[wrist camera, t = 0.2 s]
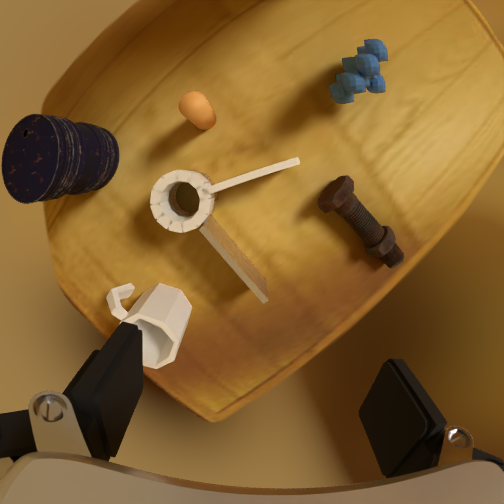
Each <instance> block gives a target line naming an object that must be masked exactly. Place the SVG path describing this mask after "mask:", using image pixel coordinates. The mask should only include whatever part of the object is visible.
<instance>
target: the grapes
mask: <svg viewBox="0 0 504 504" xmlns="http://www.w3.org/2000/svg"><path fill="white" fill-rule="evenodd" d="M364 43H365V46H362V47H357V52H358V55H355V57H347V58H342V63H343V69H344V73H340V74H336V81H337V83H333V84H329V85H330V93H331V97H332V98H333V99H334V100H335V101H336V102H337V103H340V104H346V103H351V102H354V94H357V93H363V92H366V88H367V90H368V91H369V92H371V93H383V92H386V89H385V81H384V78H383V77H382V76H381V75H380V64H379V62H380V61H388V53H387V49H386V47H385V44H383V42H382V41H380V40H378V39H368V40H364Z"/></svg>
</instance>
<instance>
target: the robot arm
mask: <svg viewBox="0 0 504 504" xmlns="http://www.w3.org/2000/svg"><path fill="white" fill-rule="evenodd" d="M142 390H143V334H142V330H140V329H138V326H137V325H136V324H131V323H128V322H124V321H123V322H121V323H120V325H119V326H118V327H117V329H116V330H115V331H114V333H113V334H112V335H111V337H110V338H109V339H108V341H107V342H106V343H105V345H104V346H103V347H102V349H101V350H94V351H93V352H92V354H91V355H90V356H89V358H88V359H87V360H86V362H85V363H84V365H83V366H82V367H81V368H80V370H79V371H78V372H77V374H76V375H75V377H74V378H73V379H72V381H71V382H70V383H69V385H68V386H67V388H66V389H65V390H64V392H63V393H62V394H61V393H59V392H55V391H43V392H40V393H38V394H36V395H35V396H34V397H33V398H32V399H31V400H30V403H29V409H28V410H22V411H15V412H9V413H2V414H0V504H504V462H503V460H501V459H500V458H498V457H496V456H493V455H491V454H488V453H485V452H483V451H481V450H478V449H476V448H473V439H472V436H471V435H470V433H469V432H468V431H466V430H465V429H464V428H462V427H458V426H452V427H449V428H448V429H447V430H446V431H445V430H444V427H445V425H446V424H447V421H446V420H445V418H444V417H443V415H442V414H441V412H440V411H439V409H438V408H437V406H436V405H435V404H434V402H433V401H432V399H431V398H430V396H429V395H428V394H427V392H426V391H425V389H424V388H423V387H422V385H421V384H420V382H419V381H418V380H417V378H416V377H415V375H414V374H413V373H412V372H411V370H410V369H409V367H408V366H407V364H406V363H405V362H404V361H403V360H402V359H388V360H387V362H385V363H383V365H382V367H381V369H380V371H379V373H378V375H377V377H376V379H375V381H374V383H373V385H372V387H371V389H370V391H369V393H368V395H367V397H366V398H365V400H364V402H363V404H362V405H361V407H360V410H359V417H360V419H361V422H362V424H363V426H364V429H365V431H366V434H367V436H368V439H369V441H370V444H371V446H372V449H373V451H374V454H375V456H376V459H377V462H378V464H379V467H380V469H381V472H382V474H383V475H385V476H386V478H387V479H383V480H377V481H371V482H365V483H357V484H350V485H341V486H331V487H318V488H295V489H294V488H292V489H275V488H274V489H273V488H272V489H271V488H249V487H236V486H225V485H216V484H209V483H202V482H195V481H189V480H184V479H179V478H173V477H168V476H163V475H159V474H154V473H150V472H146V471H142V470H138V469H134V468H131V467H127V466H123V465H119V464H115V463H112V462H109V459H110V457H115V456H116V454H117V452H118V450H119V447H120V444H121V442H122V439H123V437H124V434H125V432H126V429H127V427H128V425H129V422H130V420H131V417H132V415H133V412H134V409H135V407H136V405H137V403H138V400H139V398H140V396H141V393H142Z"/></svg>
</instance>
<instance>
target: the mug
mask: <svg viewBox="0 0 504 504" xmlns="http://www.w3.org/2000/svg"><path fill="white" fill-rule="evenodd" d="M134 289H135V288H134V286H133V285H132V284H131V283H129V284H125V285H122V286H119V287H116V288H113V289H111V290H110V292H109V293H108V295H107V297H106V299H107V302H108V305H109V308H110V311H111V314H112V315H113V316H115V317H117V318H118V319H120V320H121V322H123V321H124V322H128V323H131V324H136V325H137V326H138V329H140V330H142V334H143V366H147V367H151V368H155V369H158V368H160V367H162V366H164V365H166V364H168V363H170V362H172V361H174V360H175V357H176V354H177V351H178V348H179V346H180V343H181V340H182V337H183V335H184V332H185V329H186V326H187V324H188V320H189V317H190V313H191V310H192V306H191V304H190V303H189V301H188V300H187V298H186V297H185V295H184V294H183V292H182V290H180V289H177V288H174V287H171V286H168V285H164V284H161V283H158V284H157V285H155V286H153V287H151V288H150V289H148V290H146V291H145V292H143V294H142V295H141V296H140V297H139V299H138V300H137V301H136V303H135V304H134V305H133V306H132V308H131V309H130V310H129V311H128V312H127V311H126V310H125V309H124V308H123V307H122V306H121V303H120V300H121V299H125V298H129V297H130V295H131V294H132V293H133V291H134ZM121 322H120V323H121Z"/></svg>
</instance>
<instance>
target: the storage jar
mask: <svg viewBox="0 0 504 504" xmlns="http://www.w3.org/2000/svg"><path fill="white" fill-rule="evenodd" d="M118 163H119V147H118V144H117V141H116V139H115V137H114V136H113V135H112V134H111V133H110V132H109V131H108V130H106V129H104V128H101V127H98V126H95V125H92V124H87V123H83V122H78V123H73V122H72V121H70V120H68V119H66V118H61V117H56V116H49V115H48V116H45V115H41V114H31V115H29V116H26V117H24V118H23V119H21V120H20V121H19V122H18V123H17V124H16V125H15V126H14V128H13V129H12V131H11V132H10V134H9V136H8V138H7V141H6V143H5V147H4V151H3V155H2V175H3V180H4V184H5V186H6V189H7V190H8V192H9V194H10V195H11V196H12V197H13V198H14V199H15V200H16V201H18V202H20V203H24V204H25V203H26V204H29V203H33V202H37V201H47V200H51V199H57V198H59V197H62V196H64V195H65V194H71V195H77V194H82V193H86V192H90V191H93V190H97V189H100V188H102V187H104V186H105V185H106V184H107V183H108V182H109V181H110V180H111V179H112V177H113V176H114V174H115V172H116V170H117V167H118Z"/></svg>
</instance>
